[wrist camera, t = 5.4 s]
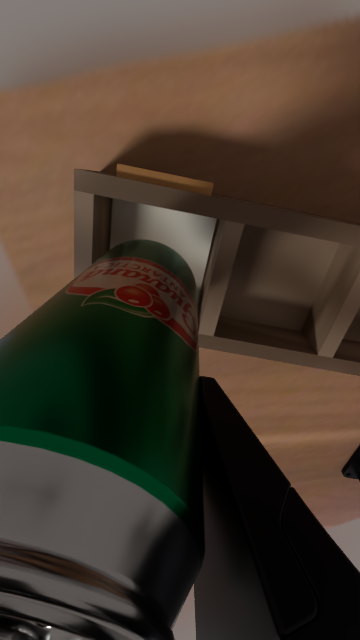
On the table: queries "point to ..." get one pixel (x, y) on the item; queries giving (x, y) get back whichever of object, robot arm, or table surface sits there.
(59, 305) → the soda can
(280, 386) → the table surface
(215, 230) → the can rack
